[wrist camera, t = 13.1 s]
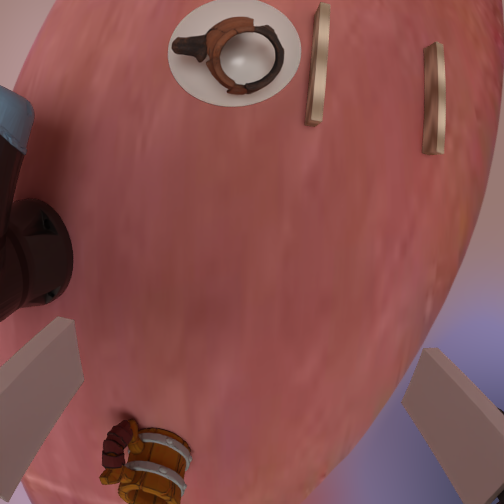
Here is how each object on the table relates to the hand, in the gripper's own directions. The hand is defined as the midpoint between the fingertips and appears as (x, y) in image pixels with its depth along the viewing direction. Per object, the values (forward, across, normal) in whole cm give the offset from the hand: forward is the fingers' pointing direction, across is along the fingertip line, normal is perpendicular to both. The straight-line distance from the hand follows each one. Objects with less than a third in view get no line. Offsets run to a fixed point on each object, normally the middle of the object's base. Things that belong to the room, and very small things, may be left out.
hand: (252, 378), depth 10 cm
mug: (+27, -12, -36) cm, 47 cm away
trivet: (+27, -4, +23) cm, 35 cm away
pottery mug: (+27, -5, +22) cm, 36 cm away
